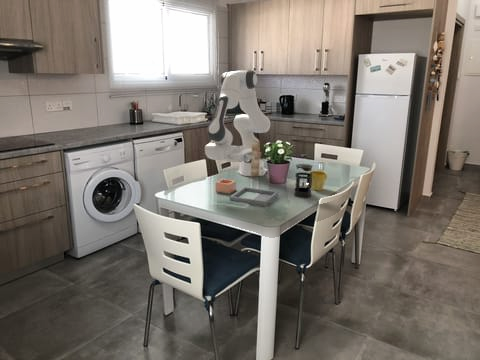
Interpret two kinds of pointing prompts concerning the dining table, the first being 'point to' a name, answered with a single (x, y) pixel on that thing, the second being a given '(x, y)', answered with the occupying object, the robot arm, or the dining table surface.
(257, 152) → the wooden block tower
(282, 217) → the dining table surface
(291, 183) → the dining table surface
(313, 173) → the yellow cup
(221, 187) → the salmon square socket block
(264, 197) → the charcoal tray
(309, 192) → the french press
